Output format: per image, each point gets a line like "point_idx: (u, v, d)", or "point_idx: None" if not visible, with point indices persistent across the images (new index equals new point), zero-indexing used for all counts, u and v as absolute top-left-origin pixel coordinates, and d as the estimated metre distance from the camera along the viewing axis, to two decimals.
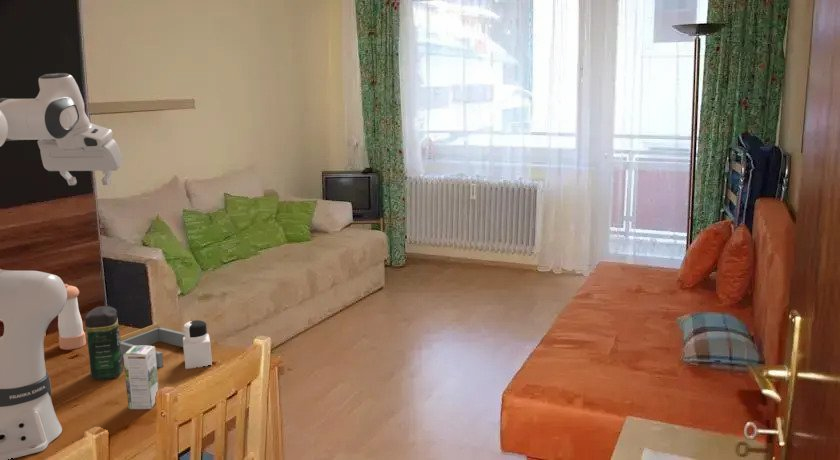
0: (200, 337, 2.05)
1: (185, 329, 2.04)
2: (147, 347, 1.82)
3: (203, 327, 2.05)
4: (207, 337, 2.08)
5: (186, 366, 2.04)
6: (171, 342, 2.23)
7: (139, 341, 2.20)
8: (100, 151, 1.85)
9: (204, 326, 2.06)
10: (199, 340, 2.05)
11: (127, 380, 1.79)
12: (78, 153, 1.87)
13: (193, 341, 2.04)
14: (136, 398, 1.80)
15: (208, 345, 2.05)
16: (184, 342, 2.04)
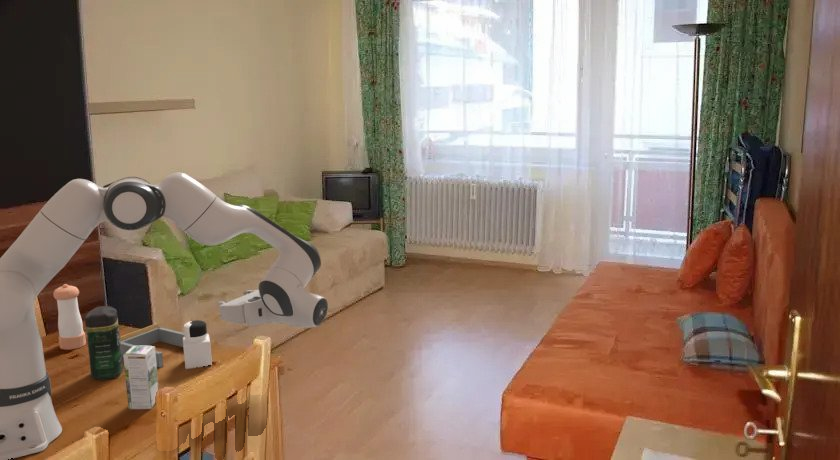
0: (200, 337, 2.05)
1: (185, 329, 2.04)
2: (147, 347, 1.82)
3: (203, 327, 2.05)
4: (207, 337, 2.08)
5: (186, 366, 2.04)
6: (171, 342, 2.23)
7: (139, 341, 2.20)
8: None
9: (204, 326, 2.06)
10: (199, 340, 2.05)
11: (127, 380, 1.79)
12: None
13: (193, 341, 2.04)
14: (136, 398, 1.80)
15: (208, 345, 2.05)
16: (184, 342, 2.04)
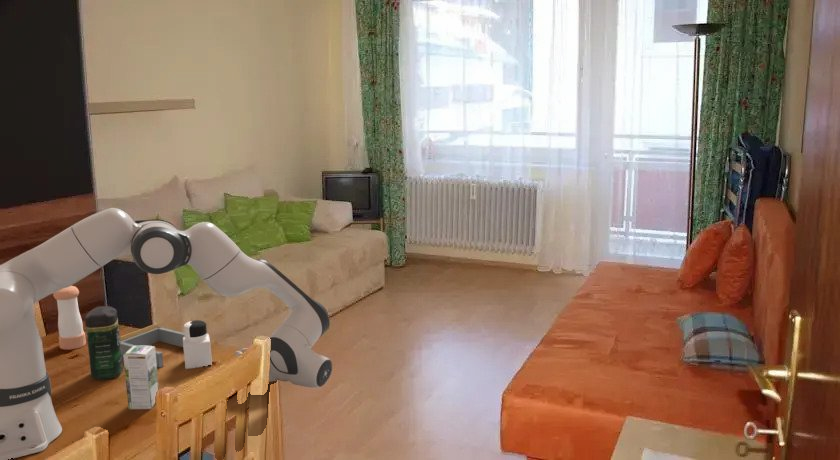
0: (200, 337, 2.05)
1: (185, 329, 2.04)
2: (147, 347, 1.82)
3: (203, 327, 2.05)
4: (207, 337, 2.08)
5: (186, 366, 2.04)
6: (171, 342, 2.23)
7: (139, 341, 2.20)
8: None
9: (204, 326, 2.06)
10: (199, 340, 2.05)
11: (127, 380, 1.79)
12: None
13: (193, 341, 2.04)
14: (136, 398, 1.80)
15: (208, 345, 2.05)
16: (184, 342, 2.04)
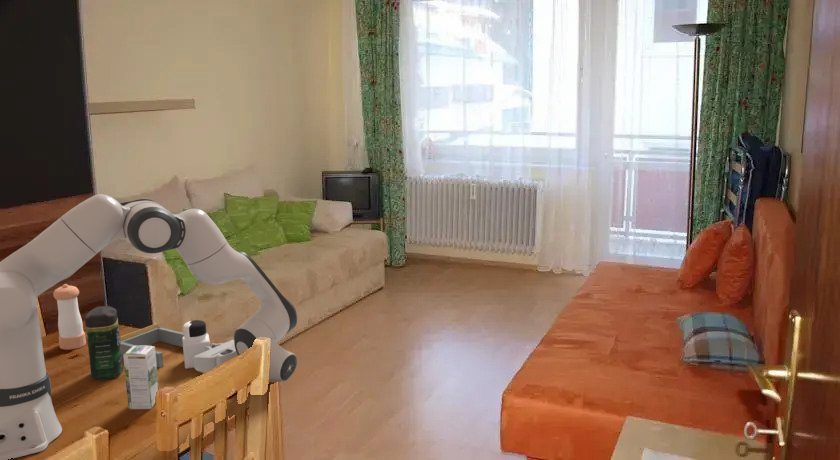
0: (200, 337, 2.05)
1: (185, 329, 2.04)
2: (147, 347, 1.82)
3: (203, 327, 2.05)
4: (207, 337, 2.08)
5: (186, 366, 2.04)
6: (171, 342, 2.23)
7: (139, 341, 2.20)
8: None
9: (204, 326, 2.06)
10: (199, 340, 2.05)
11: (127, 380, 1.79)
12: None
13: (193, 341, 2.04)
14: (136, 398, 1.80)
15: None
16: (184, 342, 2.04)
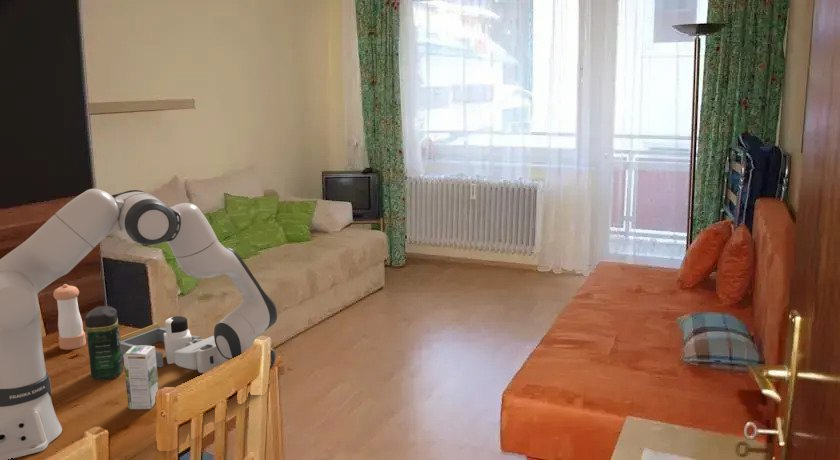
0: (182, 332, 2.08)
1: (167, 325, 2.08)
2: (147, 347, 1.82)
3: (184, 323, 2.09)
4: (188, 332, 2.12)
5: (168, 361, 2.08)
6: None
7: (139, 341, 2.20)
8: None
9: (185, 322, 2.09)
10: (181, 335, 2.09)
11: (127, 380, 1.79)
12: None
13: (175, 336, 2.08)
14: (136, 398, 1.80)
15: (190, 340, 2.09)
16: (166, 338, 2.08)
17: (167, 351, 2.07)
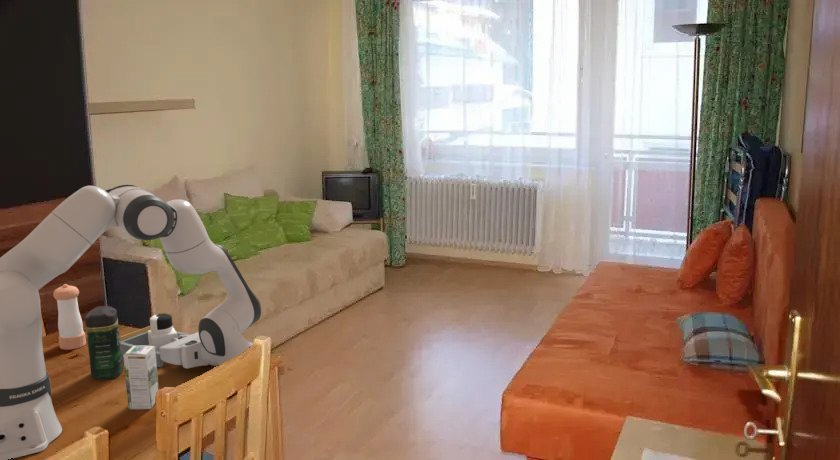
0: (167, 329, 2.11)
1: (152, 322, 2.10)
2: (147, 347, 1.82)
3: (170, 319, 2.12)
4: (173, 329, 2.15)
5: None
6: None
7: (139, 341, 2.20)
8: None
9: (170, 318, 2.12)
10: (166, 332, 2.12)
11: (127, 380, 1.79)
12: None
13: (160, 333, 2.11)
14: (136, 398, 1.80)
15: (175, 336, 2.12)
16: (152, 335, 2.10)
17: None
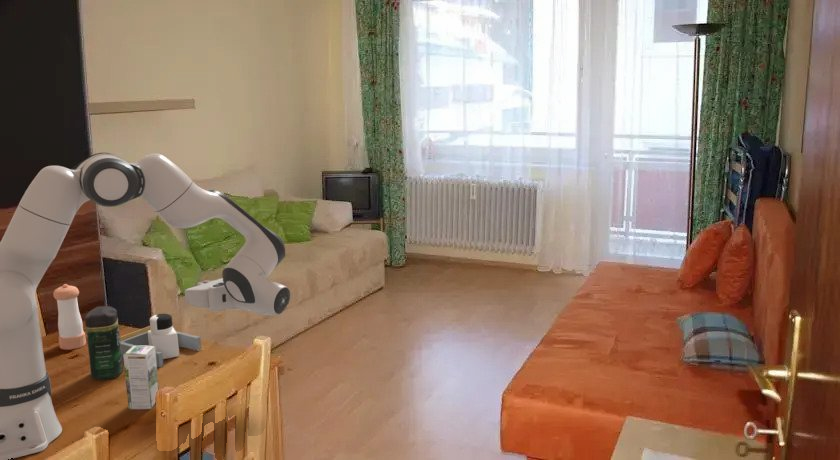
0: (167, 329, 2.12)
1: (152, 322, 2.10)
2: (147, 347, 1.82)
3: (170, 319, 2.12)
4: (173, 329, 2.15)
5: None
6: None
7: (139, 341, 2.20)
8: None
9: (170, 318, 2.13)
10: (166, 332, 2.12)
11: (127, 380, 1.79)
12: None
13: (160, 333, 2.11)
14: (136, 398, 1.80)
15: (175, 336, 2.12)
16: (151, 335, 2.10)
17: None
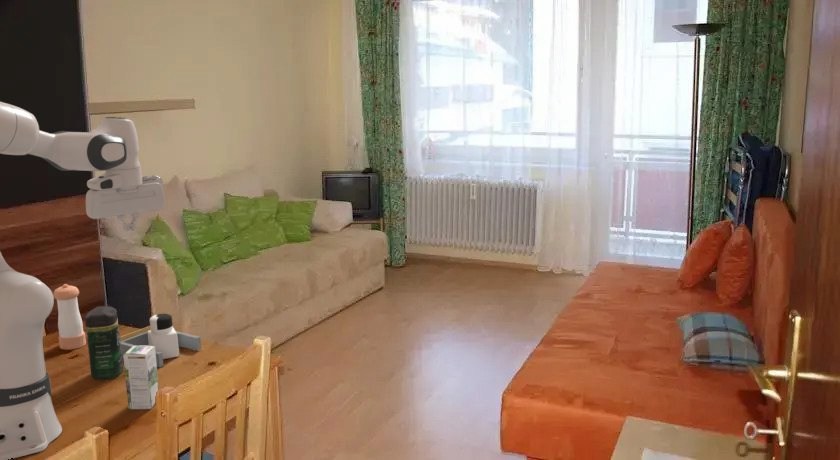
0: (167, 329, 2.12)
1: (152, 322, 2.10)
2: (147, 347, 1.82)
3: (170, 319, 2.12)
4: (173, 329, 2.15)
5: None
6: None
7: (139, 341, 2.20)
8: None
9: (170, 318, 2.13)
10: (166, 332, 2.12)
11: (127, 380, 1.79)
12: None
13: (160, 333, 2.11)
14: (136, 398, 1.80)
15: (175, 336, 2.12)
16: (151, 335, 2.10)
17: None
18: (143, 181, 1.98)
